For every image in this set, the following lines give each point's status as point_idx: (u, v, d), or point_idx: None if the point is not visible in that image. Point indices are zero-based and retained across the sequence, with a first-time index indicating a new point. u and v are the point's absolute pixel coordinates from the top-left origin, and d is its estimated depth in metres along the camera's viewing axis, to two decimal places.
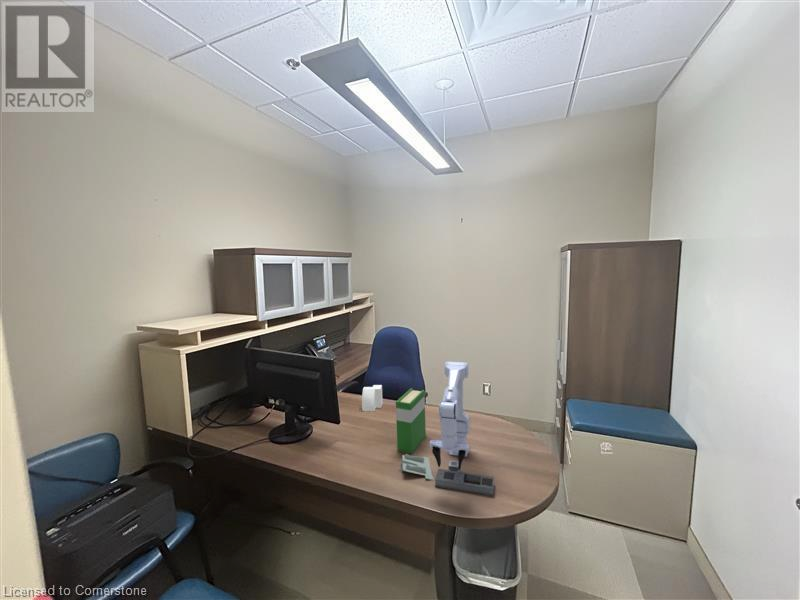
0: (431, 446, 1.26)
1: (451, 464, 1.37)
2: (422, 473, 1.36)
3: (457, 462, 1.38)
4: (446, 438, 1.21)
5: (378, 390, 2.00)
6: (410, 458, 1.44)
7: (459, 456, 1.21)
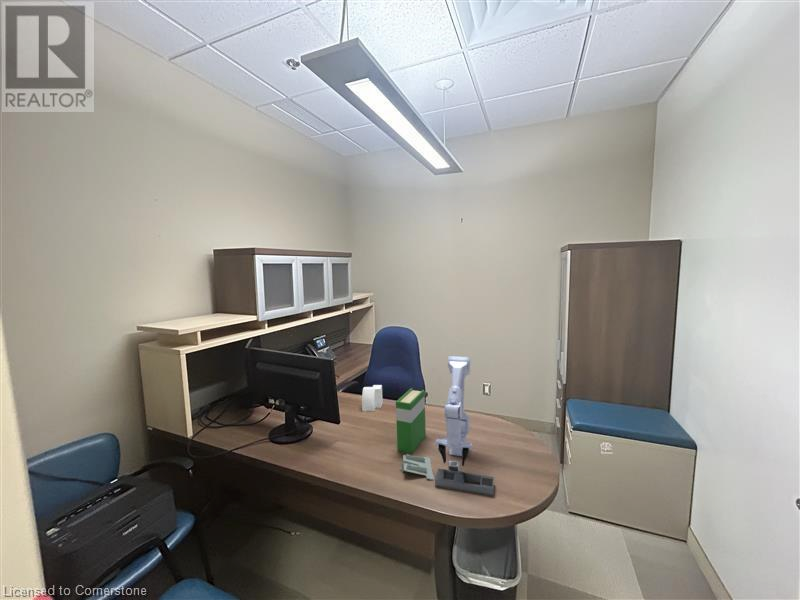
0: (437, 444, 1.38)
1: (451, 464, 1.37)
2: (423, 473, 1.36)
3: (457, 462, 1.38)
4: (451, 437, 1.33)
5: (378, 390, 2.00)
6: (411, 458, 1.44)
7: (463, 453, 1.33)
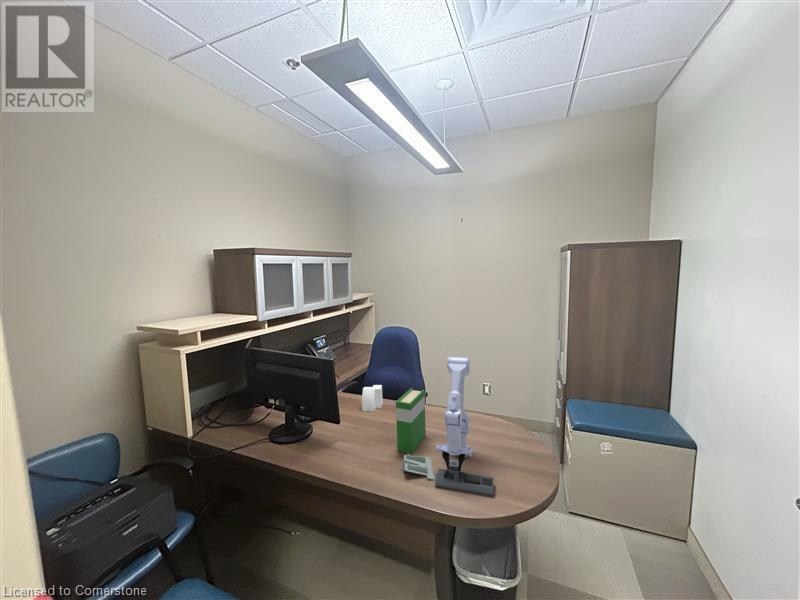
0: (437, 450, 1.38)
1: (451, 463, 1.37)
2: (424, 473, 1.36)
3: (457, 462, 1.38)
4: (451, 443, 1.34)
5: (378, 390, 2.00)
6: (412, 458, 1.44)
7: (459, 459, 1.34)
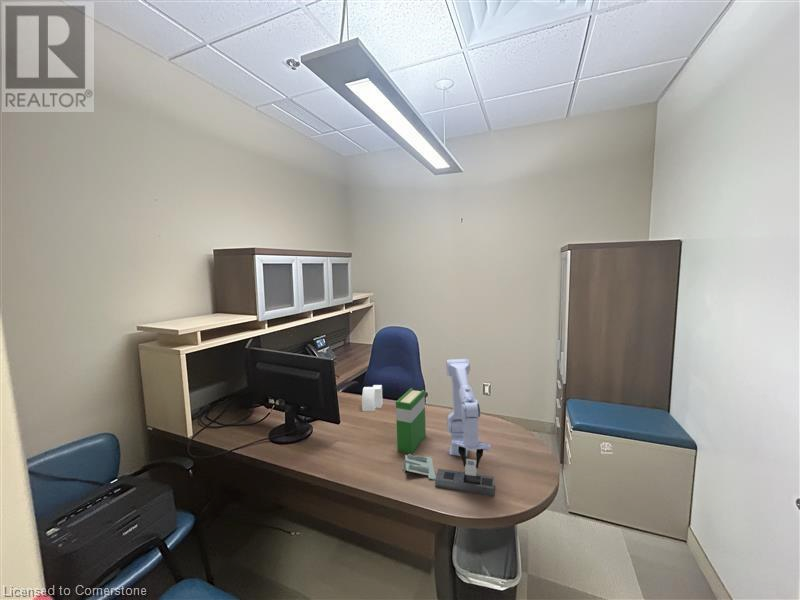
0: (453, 445, 1.29)
1: (468, 463, 1.28)
2: (425, 473, 1.36)
3: (474, 461, 1.29)
4: (468, 437, 1.24)
5: (378, 390, 2.01)
6: (413, 458, 1.44)
7: (477, 454, 1.24)
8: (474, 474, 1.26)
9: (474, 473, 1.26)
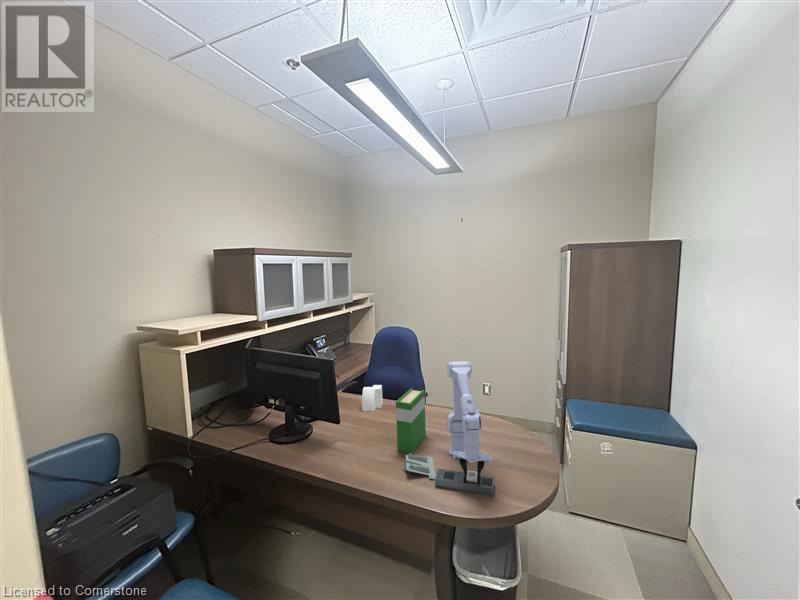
0: (454, 457, 1.29)
1: (469, 474, 1.28)
2: (426, 473, 1.36)
3: (475, 472, 1.29)
4: (470, 449, 1.25)
5: (378, 390, 2.01)
6: (413, 458, 1.44)
7: (478, 466, 1.24)
8: None
9: None
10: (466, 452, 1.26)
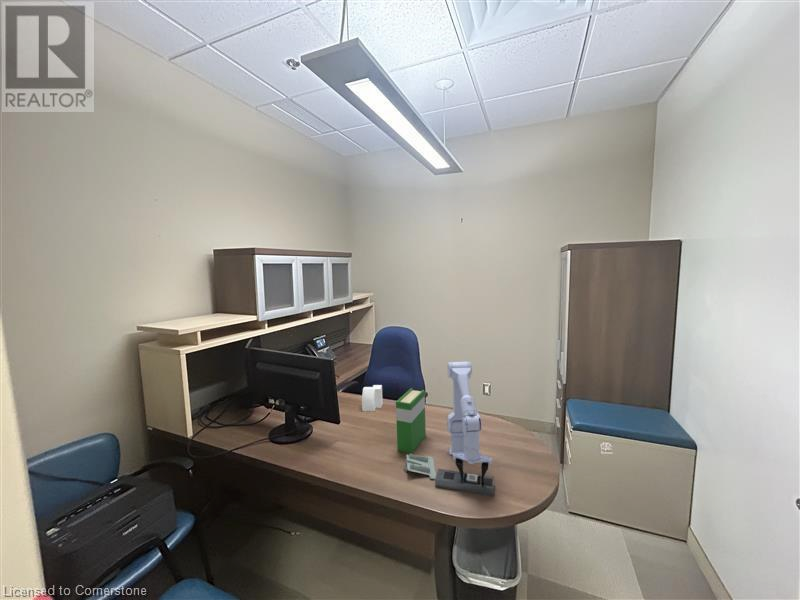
0: (454, 458, 1.29)
1: (469, 477, 1.28)
2: (426, 473, 1.36)
3: (475, 476, 1.29)
4: (470, 451, 1.25)
5: (378, 390, 2.01)
6: (414, 458, 1.44)
7: (482, 468, 1.24)
8: None
9: None
10: (466, 453, 1.26)
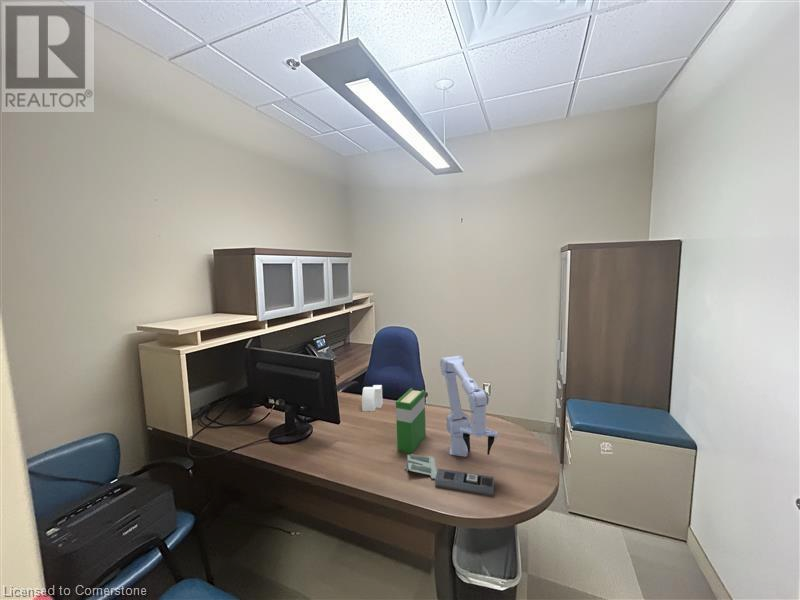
0: (461, 433, 1.35)
1: (469, 477, 1.28)
2: (428, 473, 1.36)
3: (475, 476, 1.29)
4: (476, 425, 1.31)
5: (378, 390, 2.01)
6: (415, 458, 1.44)
7: (489, 441, 1.30)
8: None
9: None
10: (473, 428, 1.32)
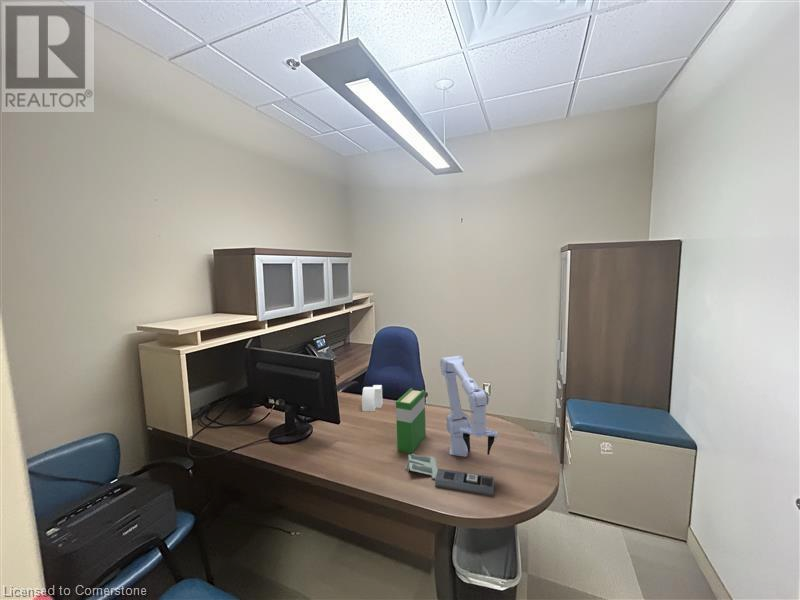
0: (461, 433, 1.35)
1: (469, 477, 1.28)
2: (429, 473, 1.36)
3: (475, 476, 1.29)
4: (476, 425, 1.31)
5: (378, 390, 2.01)
6: (416, 458, 1.44)
7: (489, 441, 1.30)
8: None
9: None
10: (473, 428, 1.32)
